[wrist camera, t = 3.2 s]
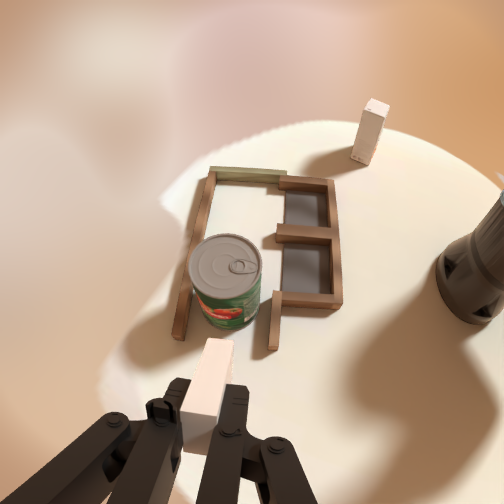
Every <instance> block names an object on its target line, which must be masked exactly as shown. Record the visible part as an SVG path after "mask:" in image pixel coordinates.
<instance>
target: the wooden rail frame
mask: <svg viewBox="0 0 504 504" xmlns="http://www.w3.org/2000/svg"><path fill="white" fill-rule="evenodd" d="M217 180H230V181H247V182H262V183H276V184H279V190H286V212H285V224H280V223H277V230H276V243H284V260H283V280H282V291H274V290H273V294H272V305H271V318H270V331H269V344H268V350H275V351H277V350H278V347H279V335H280V319H281V306H289V307H304V308H320V309H340V307H341V306H342V304H343V287H342V267H341V251H340V238H339V225H338V214H337V204H336V194H335V185H334V180H330V179H321V178H311V177H300V176H289V175H287V171H285V170H273V169H258V168H241V167H220V166H210V170H209V173H208V177H207V181H206V184H205V188H204V192H203V196H202V200H201V204H200V207H199V211H198V215H197V219H196V224H195V228H194V232H193V236H192V240H191V244H190V249H189V253H188V257H187V262H186V266H185V271H184V275H183V280H182V284H181V289H180V294H179V299H178V304H177V308H176V313H175V318H174V324H173V329H172V334H171V335H172V336H173V338H174V339H175V340H180V341H184V338H185V332H186V326H187V321H188V315H189V310H190V304H191V299H192V294H193V289H194V287H193V284H192V282H191V280H190V277H189V273H188V261H189V258H190V255H191V253H192V251H193V250H194V249H195V247H196V246H197V245H198V244H199V243H201V242H202V241H203V240H204V235H205V230H206V226H207V221H208V217H209V212H210V208H211V203H212V199H213V195H214V190H215V186H216V182H217ZM325 194H326V196H325ZM326 207H327V210H326ZM327 222H328V225H327ZM329 261H330V266H329Z"/></svg>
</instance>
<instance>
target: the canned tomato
mask: <svg viewBox="0 0 504 504" xmlns="http://www.w3.org/2000/svg"><path fill="white" fill-rule="evenodd" d="M261 271H262V259H261V255H260V253H259V251H258V249H257V248H256V246H255V245H254V244H253V243H252V242H250V241H249V240H248V239H246V238H244V237H242V236H239V235H236V234H229V233H227V234H217V235H214V236H211V237H208V238H207V239H205V240H203V241H202V242H201V243H199V244H198V245H197V246H196V247H195V249H194V250H193V251H192V253H191V255H190V258H189V261H188V273H189V277H190V280H191V282H192V284H193V287H194V290H195V292H196V295H197V298H198V300H199V303H200V306H201V308H202V311H203V314H204V316H205V318H206V319H207V321H208V322H209V323H210V324H211V325H212V326H214V327H216V328H217V329H220V330H224V331H236V330H240V329H243V328H245V327H247V326H248V325H250V324H251V323H252V322H253V321H254V319H255V318H256V316H257V314H258V311H259V307H260V288H261Z"/></svg>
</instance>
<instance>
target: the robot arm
mask: <svg viewBox="0 0 504 504" xmlns="http://www.w3.org/2000/svg"><path fill="white" fill-rule="evenodd" d="M436 278H437V284H438V287H439V290H440V293H441V295H442V297H443V299H444V301H445V303H446V304H447V306H448V307H449V308H450V309H451V311H452V312H453V313H454V314H455V315H456V316H458V317H459V318H460V319H462V320H464V321H465V322H468V323H471V324H477V325H478V324H484V323H487V322H488V321H490V320H491V319H493V318H494V317H496V316H497V315H498V314H499V313H500V312H501V311H502V309H503V308H504V190H503V191H502V192H501V196H500V198H499V199H498V200H497V202H496V203H495V205H494V206H493V207H492V209H491V210H490V211H489V212H488V214H487V215H486V216H485V217H484V219H483V220H482V221H481V222H480V224H479V225H478V226H477V227H476V229H475V230H474V231H473V232H472V233H470V234H468V235H466V236H464V237H462V238H460V239H458V240H456V241H454V242H452V243H451V244H450V245H448V246H447V248H446V249H445V250H444V251H443V252H442V254H441V255H440V257H439V259H438V262H437V266H436ZM233 350H234V340H225V339H216V338H208V340H207V342H206V345H205V347H204V350H203V352H202V355H201V357H200V360H199V363H198V365H197V368H196V370H195V373H194V375H193V378H192V380H190V379H183V378H176V379H174V380H173V381H172V382H170V384H169V387H168V389H167V391H166V393H165V395H164V397H163V398H156V399H152V400H150V401H148V402H147V403H146V411H147V417H148V419H146V420H140V421H129V419H128V417H127V416H126V415H124V414H123V413H119V412H110V413H107V414H105V415H103V416H102V417H101V418H100V419H99V420H98V421H96V422H95V423H94V424H93V425H92V426H91V427H89V428H88V429H87V430H86V431H85V432H84V433H82V435H80V436H79V437H78V438H77V439H76V440H75V441H73V442H72V443H71V444H70V445H69V446H67V447H66V448H65V449H64V450H63V451H61V452H60V453H59V454H58V455H57V456H56V457H54V458H53V459H52V460H51V461H50V462H49V463H47V464H46V465H45V466H44V467H43V468H41V469H40V470H39V471H38V472H37V473H36V474H34V475H33V476H32V477H31V478H29V479H28V480H27V481H26V482H25V483H23V484H22V485H21V486H20V487H18V488H17V489H16V490H15V491H14V492H12V493H11V494H10V495H9V496H7V497H6V498H5V499H4V500H3V501H1V502H0V504H101V503H102V502H103V501H104V499H105V498H106V497H107V496H108V495H109V494H110V493H111V492H112V493H111V495H110V497H109V499H108V502H107V504H168V501H169V497H170V494H171V491H172V488H173V484H174V481H175V478H176V475H177V471H178V468H179V465H180V462H181V450H182V447H183V452H188V453H194V454H200V455H206V456H207V458H206V462H205V466H204V470H203V475H202V479H201V483H200V487H199V491H198V496H197V500H196V504H237V502H238V494H239V486H240V478H241V477H242V478H244V479H247V480H250V481H253V482H255V485H256V489H257V493H258V496H259V500H260V504H318V503H317V501H316V499H315V496H314V494H313V492H312V490H311V487H310V485H309V483H308V480H307V478H306V476H305V473H304V471H303V468H302V466H301V464H300V461H299V459H298V457H297V454H296V452H295V449H294V447H293V445H292V444H291V442H290V441H289V440H287V439H285V438H282V437H269V438H266V439H265V440H261V439H258V438H255V437H253V436H252V435H250V434H249V432H248V431H247V429H246V422H247V413H248V402H249V391H248V389H247V387H246V386H243V385H233V384H231V380H232V367H233Z"/></svg>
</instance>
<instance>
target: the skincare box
mask: <svg viewBox="0 0 504 504" xmlns="http://www.w3.org/2000/svg"><path fill="white" fill-rule="evenodd" d="M389 107H390V106H389V105H387V104H384V103H382V102H380V101H377V100H375V99H372V98H371V99H370V100H369V102H368V103H367V105H366V106H365V108H364V110H363V113H362V117H361V121H360V124H359V128H358V132H357V135H356V139H355V142H354V146H353V149H352V153H351V156H350V158H352V159H354V160H356V161H359V162H361V163H363V164H366V165H369V164H370V161H371V159H372V157H373V154H374V152H375V150H376V147H377V144H378V141H379V138H380V135H381V132H382V129H383V126H384V123H385V120H386V117H387V114H388V110H389Z"/></svg>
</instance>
